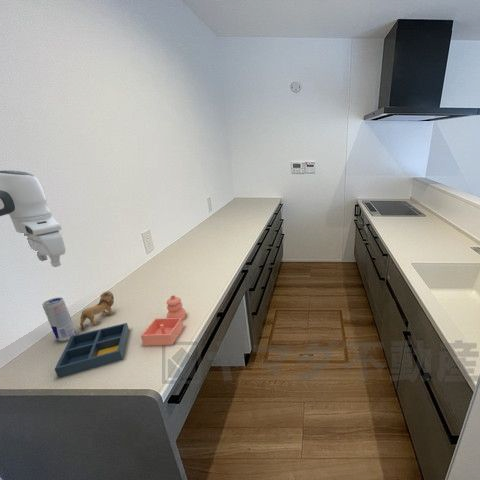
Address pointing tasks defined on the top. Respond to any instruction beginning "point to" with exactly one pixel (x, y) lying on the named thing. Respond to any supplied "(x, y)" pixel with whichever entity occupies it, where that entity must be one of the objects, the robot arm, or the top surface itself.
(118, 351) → the grid
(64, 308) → the beverage can
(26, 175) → the robot arm
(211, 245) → the top surface
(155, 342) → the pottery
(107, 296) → the lion figurine
